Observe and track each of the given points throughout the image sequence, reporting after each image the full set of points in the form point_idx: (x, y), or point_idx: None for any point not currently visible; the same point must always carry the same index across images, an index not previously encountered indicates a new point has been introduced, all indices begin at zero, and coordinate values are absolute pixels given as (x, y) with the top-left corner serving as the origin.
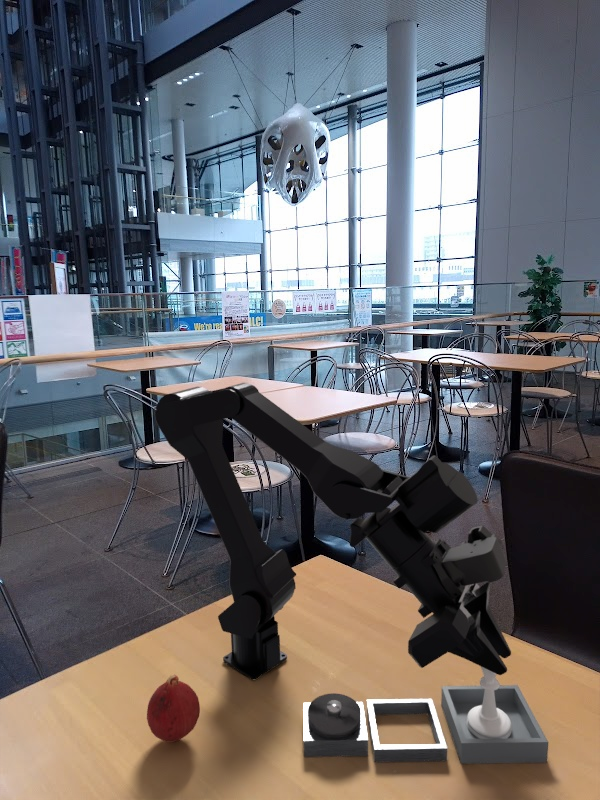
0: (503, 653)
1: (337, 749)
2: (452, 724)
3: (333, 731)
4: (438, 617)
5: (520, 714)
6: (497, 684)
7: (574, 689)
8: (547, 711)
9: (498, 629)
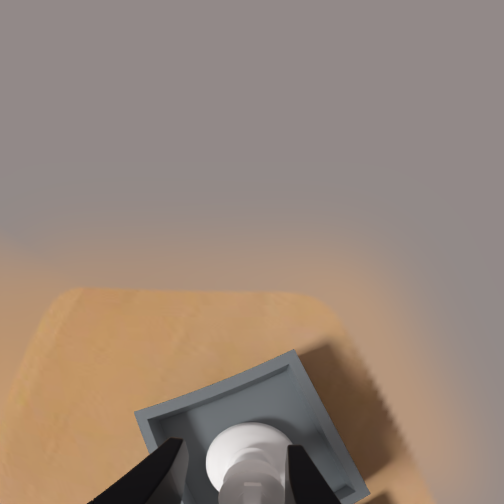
0: (183, 462)
1: None
2: None
3: None
4: None
5: (192, 408)
6: (258, 465)
7: (90, 314)
8: (154, 361)
9: (126, 496)
